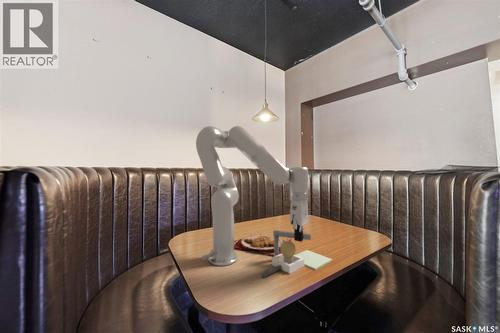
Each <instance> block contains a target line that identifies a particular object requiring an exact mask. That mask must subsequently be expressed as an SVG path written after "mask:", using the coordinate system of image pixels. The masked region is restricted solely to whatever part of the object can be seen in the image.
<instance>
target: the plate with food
mask: <svg viewBox="0 0 500 333" xmlns="http://www.w3.org/2000/svg"><path fill="white" fill-rule="evenodd" d="M284 241H292V238H290V239H289V238H287V239H286V240H285V239H281V238H279V254H282V253H281V250H280V246H281V244H282V243H283V242H284ZM235 249H238V250H240V251H247V252H248V251H249V252H252V253H254V251H253V250H258V251H259V252H258V253H260V254H262V255H265V256H274V254H273V253H274V236H273V235H269V234H262V233H261V234H255V235H247V236H246V237H244V238H242V239H241V238H239V239H237V240H236V239H235V240H234V250H235ZM252 249H253V250H252Z"/></svg>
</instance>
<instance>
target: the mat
mask: <svg viewBox="0 0 500 333" xmlns="http://www.w3.org/2000/svg"><path fill="white" fill-rule="evenodd" d="M295 255H296V256H299V257H301V258H303V259H304V267H305V266H306V267H308V268H310V269H312V270H315V271H317V270H319V269H321V267H324V266H325V265H327V264H329V263H331V262H332V261H333V259H332V258H331V257H327V256H326V255H325V256H324V255H321V254H319V253H316V252H314V251H311V250H308V249H306V250H304V251H301V252H299V253H297V254H296V253H295Z"/></svg>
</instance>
